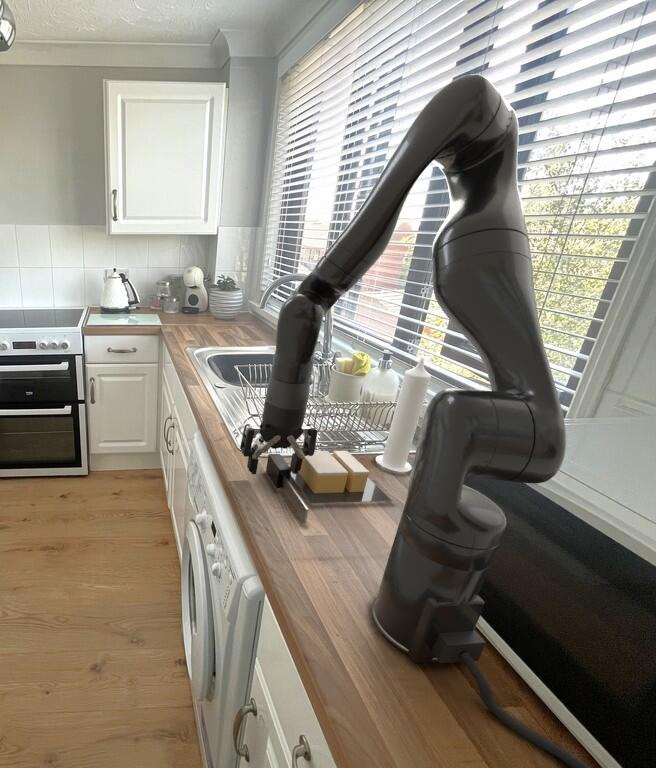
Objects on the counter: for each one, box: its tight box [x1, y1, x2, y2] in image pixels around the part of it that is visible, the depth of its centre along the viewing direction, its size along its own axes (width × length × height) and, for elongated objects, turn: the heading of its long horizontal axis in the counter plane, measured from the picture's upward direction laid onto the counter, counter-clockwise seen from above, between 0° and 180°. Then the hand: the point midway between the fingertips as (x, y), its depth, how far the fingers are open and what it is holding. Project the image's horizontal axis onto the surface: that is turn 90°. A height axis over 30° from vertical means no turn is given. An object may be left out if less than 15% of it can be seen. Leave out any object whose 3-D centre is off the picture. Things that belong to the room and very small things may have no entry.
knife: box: [265, 453, 309, 523], centre depth 79 cm, size 16×2×5 cm, turn 5°
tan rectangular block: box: [298, 450, 348, 493], centre depth 83 cm, size 8×6×5 cm
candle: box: [375, 357, 432, 473], centre depth 87 cm, size 7×7×25 cm
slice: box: [331, 450, 370, 492], centre depth 83 cm, size 8×3×5 cm, turn 5°
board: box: [286, 462, 393, 505], centre depth 84 cm, size 14×16×1 cm
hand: (272, 472), depth 84 cm, fingers open, 8 cm apart
